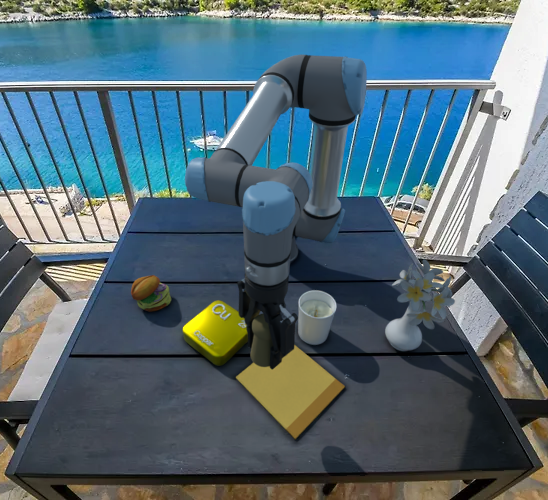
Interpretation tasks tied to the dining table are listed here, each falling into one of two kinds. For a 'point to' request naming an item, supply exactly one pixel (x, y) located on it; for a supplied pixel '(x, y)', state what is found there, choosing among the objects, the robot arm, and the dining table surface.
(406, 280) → the flower vase
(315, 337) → the candle holder
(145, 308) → the cheeseburger
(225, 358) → the element tile
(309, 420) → the towel
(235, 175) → the robot arm
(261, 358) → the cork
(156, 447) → the dining table surface
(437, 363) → the dining table surface
